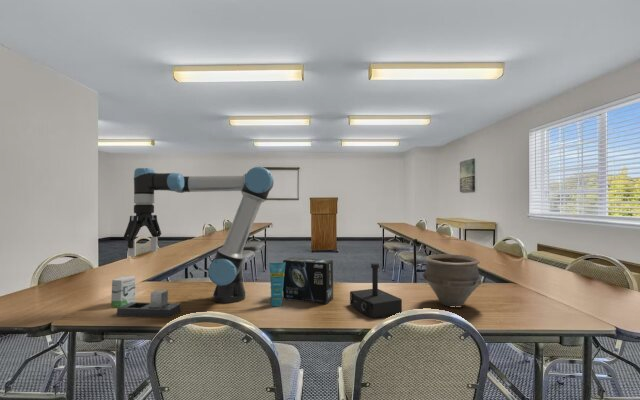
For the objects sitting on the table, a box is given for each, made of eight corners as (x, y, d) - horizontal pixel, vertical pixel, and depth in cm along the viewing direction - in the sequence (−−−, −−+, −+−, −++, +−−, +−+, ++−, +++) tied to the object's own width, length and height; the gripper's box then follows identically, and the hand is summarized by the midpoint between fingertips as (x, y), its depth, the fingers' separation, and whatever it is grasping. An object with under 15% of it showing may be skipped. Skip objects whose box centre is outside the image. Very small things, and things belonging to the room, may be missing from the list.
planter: (494, 309, 130) (494, 259, 131) (461, 318, 118) (461, 263, 119) (444, 294, 151) (444, 251, 152) (412, 301, 139) (412, 254, 140)
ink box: (120, 307, 128) (121, 280, 128) (110, 307, 129) (111, 279, 129) (135, 301, 136) (136, 276, 137) (126, 301, 137) (127, 275, 137)
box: (282, 298, 143) (282, 259, 143) (291, 293, 152) (292, 256, 153) (326, 304, 134) (326, 263, 135) (333, 298, 143) (334, 259, 144)
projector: (345, 305, 134) (346, 261, 134) (376, 301, 140) (376, 259, 141) (368, 320, 116) (369, 269, 117) (403, 314, 123) (402, 266, 123)
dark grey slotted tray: (180, 310, 124) (180, 303, 125) (169, 317, 116) (169, 309, 117) (130, 309, 126) (131, 302, 126) (116, 315, 118) (117, 308, 118)
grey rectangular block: (167, 311, 123) (167, 290, 123) (160, 315, 119) (161, 293, 119) (157, 311, 123) (157, 289, 124) (150, 315, 119) (150, 292, 119)
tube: (268, 307, 130) (269, 263, 130) (268, 303, 135) (268, 261, 135) (285, 306, 131) (286, 263, 132) (284, 302, 136) (284, 261, 137)
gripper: (154, 204, 139) (154, 249, 139) (113, 203, 115) (112, 258, 114) (169, 204, 139) (169, 249, 138) (131, 203, 114) (130, 258, 113)
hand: (143, 253), depth 126 cm, fingers open, 13 cm apart
